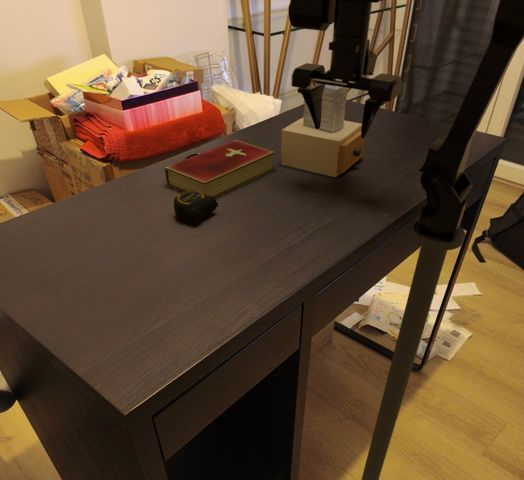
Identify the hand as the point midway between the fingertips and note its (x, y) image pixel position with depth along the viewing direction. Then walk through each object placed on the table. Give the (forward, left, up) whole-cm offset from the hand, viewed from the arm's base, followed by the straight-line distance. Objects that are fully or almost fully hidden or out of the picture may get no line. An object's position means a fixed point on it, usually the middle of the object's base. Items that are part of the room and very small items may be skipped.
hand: (340, 133), depth 89 cm
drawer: (+8, -14, -11) cm, 19 cm away
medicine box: (+10, -14, -5) cm, 18 cm away
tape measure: (+18, +22, -12) cm, 31 cm away
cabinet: (+10, -14, -12) cm, 21 cm away
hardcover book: (+24, +5, -12) cm, 28 cm away
